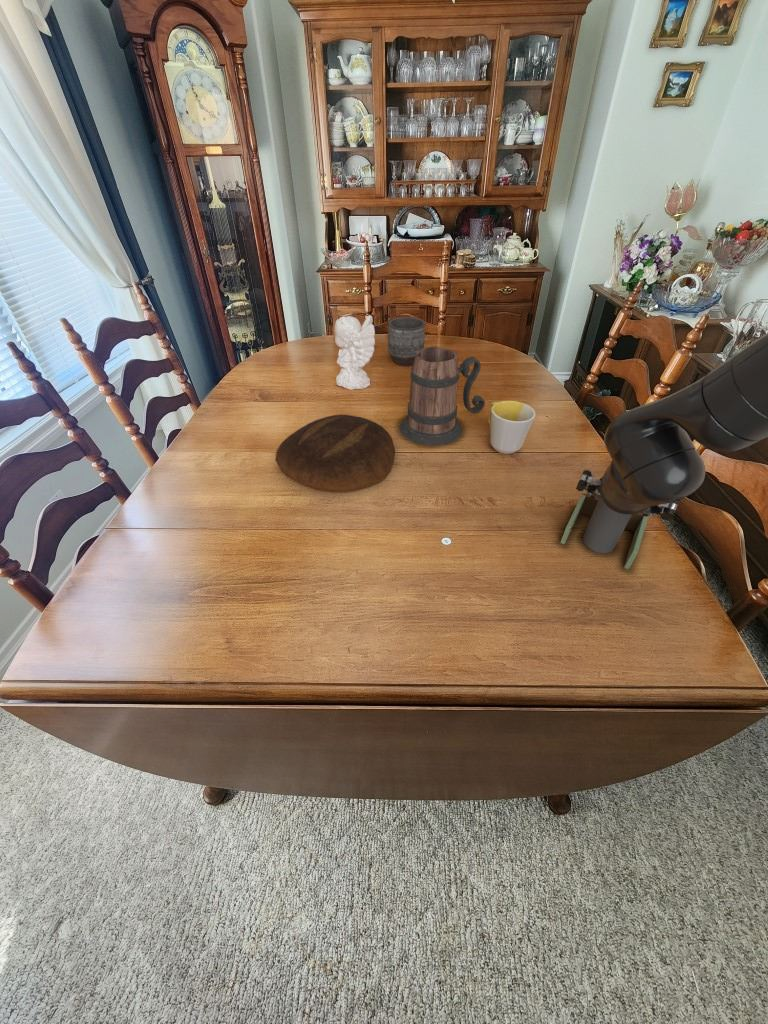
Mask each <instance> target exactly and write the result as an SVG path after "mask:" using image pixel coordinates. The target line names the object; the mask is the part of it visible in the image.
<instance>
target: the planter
mask: <svg viewBox="0 0 768 1024" xmlns="http://www.w3.org/2000/svg"><path fill="white" fill-rule="evenodd" d="M425 335H426V321H425V320H423V319H422V318H419V317H414V316H398V317H395V318H392V319H390V320H388V322H387V351H388V355H389V356H390V358H391V360H392V362H393V363H394V364H396V365H398V366H401V367H409V366H411V367H412V366H413V363H414V359H415V354H416V353H417V352H418V351H419V350H420V349H422V348H425V337H426V336H425Z"/></svg>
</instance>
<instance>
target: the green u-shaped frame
mask: <svg viewBox="0 0 768 1024" xmlns="http://www.w3.org/2000/svg"><path fill="white" fill-rule="evenodd" d="M590 497H591V496H590V495H588V494H587V493H585V492H582V493H581V495H580V498H579V500H578V501H577V504H576V506H575V508H574V510H573V512H572V514H571V516H570V518H569V520H568V522H567V523H566V526H565V529H564V532H563V534H562V537H561V540H560V542H559V543H560V544H561V545H565V544H566V541H567V540H568V538H569V536H570V533H571V531H572V529H573V527H574V526H575V523H576V520H577V518H578V516H579V514H583V515H585V516H588V517H590V518H591V517H592V515H593V512H594V510H595V508H596V506H597V503H598V501H599V499H598V498H596V497H595V498H594V499H592V498H590ZM649 516H650V515H649ZM649 516H647V517H646V516H643V513H637V514H632V515H631V517H630V519H629V521H628V523H627V525H626V527H625V529H624V530H628V531H631V532H634V534H633V537H632V540H631V543H630V546H629V549H628V553H627V557H626V560H625V563H624V566H623V568H624V569H626V570H630V568H631V566H632V564H633V562H634V561H635V559H636V557H637V555H638V554H639V550H640V547H641V544H642V541H643V537H644V534H645V530H646V527H647V524H648V520H649Z"/></svg>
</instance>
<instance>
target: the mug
mask: <svg viewBox="0 0 768 1024" xmlns="http://www.w3.org/2000/svg"><path fill="white" fill-rule="evenodd" d="M535 418H536V410H535V409H534V408H533V407H532V406H530V405H529V404H527V403H524V402H521V401H516V400H502V401H493V402H491V403H490V406H489V410H488V417H487V422H488V426H489V427H490V439H489V440H490V445H491V446H492V448H493V449H494V450H495V451H496V452H498V453H500V454H502V455H503V454H504V455H511V454H514V453H516V452H518V451H519V450H520V449H522V447H523V445H524V443H525V441H526V438H527V436H528V434H529V432H530V429H531V427H532V425H533V423H534V420H535Z"/></svg>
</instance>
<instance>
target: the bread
mask: <svg viewBox="0 0 768 1024" xmlns="http://www.w3.org/2000/svg"><path fill="white" fill-rule="evenodd" d="M395 455H396V448H395V444H394V440H393V438H392V436H391V435H390V433H389V432H388V431H387V430H386V429H385V428H384V427H383V426H381V425H380V424H379V423H377V422H375V421H373V420H370V419H368V418H365V417H361V416H356V415H351V414H333V415H329V416H325V417H322V418H318V419H316V420H314V421H311V422H309V423H307V424H305V425H303V426H302V427H300V428H299V429H297V430H296V431H294V432H293V433H291V434H290V435H289V436H287V437H286V438H285V439H284V440H283V441H282V442H281V444H280V445H279V446H278V448H277V449H276V453H275V462H276V465H277V466H278V467H279V469H280V471H281V472H282V473H283V474H284V475H285V476H286V477H288V478H290V479H291V480H293V481H295V482H296V483H298V484H301V485H302V486H306V487H308V488H311V489H313V490H318V491H325V492H337V493H339V492H340V493H346V492H351V491H358V490H362V489H365V488H369V487H371V486H372V487H373V486H375V485H377V484H379V483H380V482H382V481H383V480H385V479H386V478H387V477H388V475H389V474H390V473H391V471H392V468H393V465H394V461H395Z"/></svg>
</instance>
